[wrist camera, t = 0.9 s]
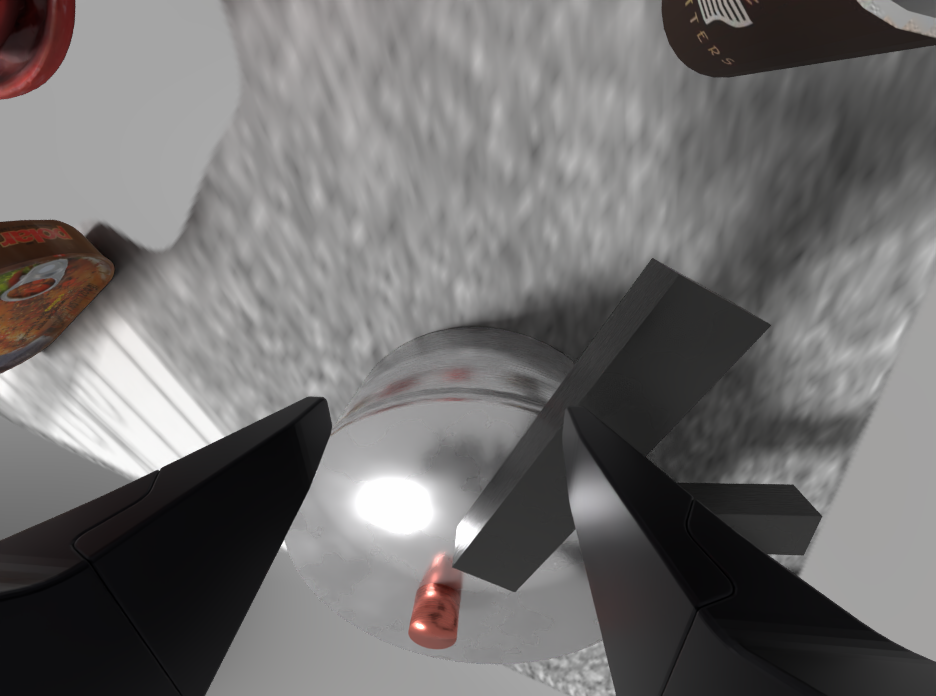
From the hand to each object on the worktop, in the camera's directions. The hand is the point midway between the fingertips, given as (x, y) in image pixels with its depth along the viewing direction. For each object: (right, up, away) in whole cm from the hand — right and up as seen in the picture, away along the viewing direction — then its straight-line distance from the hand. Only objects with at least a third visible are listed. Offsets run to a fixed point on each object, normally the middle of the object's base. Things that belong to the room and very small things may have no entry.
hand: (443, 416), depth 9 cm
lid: (+2, -6, +9) cm, 11 cm away
